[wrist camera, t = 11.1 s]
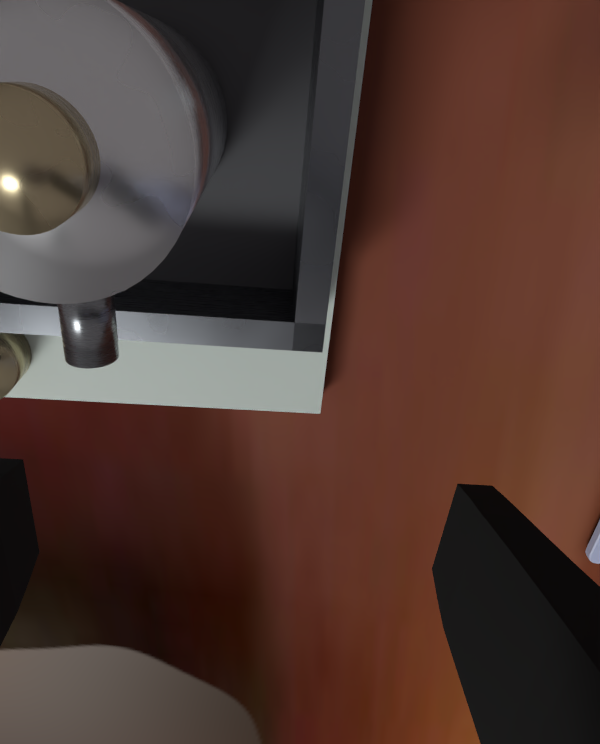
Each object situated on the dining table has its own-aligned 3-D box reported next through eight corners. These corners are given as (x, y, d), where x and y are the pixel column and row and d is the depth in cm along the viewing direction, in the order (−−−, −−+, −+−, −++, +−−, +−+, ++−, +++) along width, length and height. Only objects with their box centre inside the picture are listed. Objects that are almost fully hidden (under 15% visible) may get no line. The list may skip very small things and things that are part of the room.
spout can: (229, 23, 13) (183, -32, 6) (224, 273, 16) (191, 427, 9) (35, 4, 12) (-251, -80, 6) (67, 263, 15) (-94, 416, 9)
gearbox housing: (382, -125, 12) (417, -191, 9) (317, 397, 19) (326, 459, 16) (-177, -199, 12) (-340, -298, 8) (-40, 378, 18) (-104, 439, 15)
